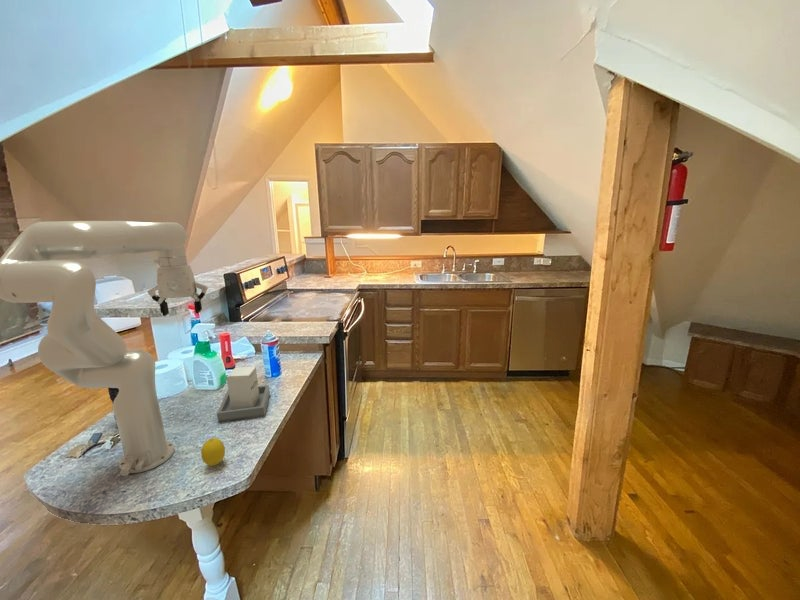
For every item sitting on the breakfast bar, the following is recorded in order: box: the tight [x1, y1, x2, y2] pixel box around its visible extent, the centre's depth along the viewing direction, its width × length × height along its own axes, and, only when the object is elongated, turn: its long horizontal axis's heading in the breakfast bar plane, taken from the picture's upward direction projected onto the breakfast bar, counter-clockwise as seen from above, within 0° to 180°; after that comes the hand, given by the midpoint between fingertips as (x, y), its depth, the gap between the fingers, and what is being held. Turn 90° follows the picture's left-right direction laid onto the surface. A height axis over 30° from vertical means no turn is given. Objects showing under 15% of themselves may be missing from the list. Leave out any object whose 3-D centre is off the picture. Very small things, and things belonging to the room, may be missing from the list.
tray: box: [216, 384, 271, 424], centre depth 123 cm, size 16×14×4 cm
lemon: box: [200, 437, 226, 467], centre depth 95 cm, size 6×6×8 cm
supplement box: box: [226, 366, 260, 410], centre depth 122 cm, size 7×7×13 cm
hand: (182, 313), depth 118 cm, fingers open, 9 cm apart
